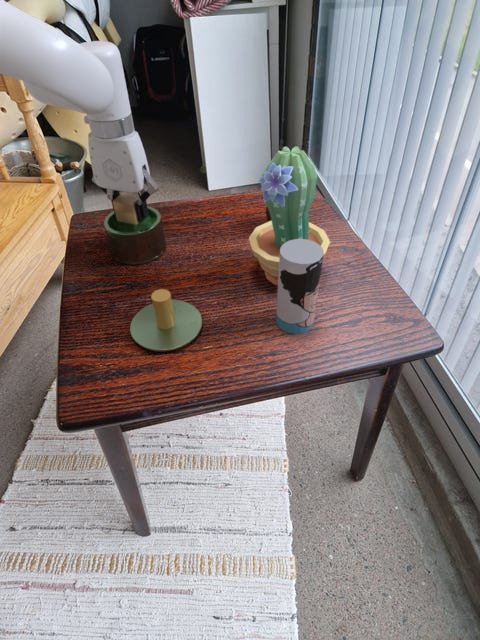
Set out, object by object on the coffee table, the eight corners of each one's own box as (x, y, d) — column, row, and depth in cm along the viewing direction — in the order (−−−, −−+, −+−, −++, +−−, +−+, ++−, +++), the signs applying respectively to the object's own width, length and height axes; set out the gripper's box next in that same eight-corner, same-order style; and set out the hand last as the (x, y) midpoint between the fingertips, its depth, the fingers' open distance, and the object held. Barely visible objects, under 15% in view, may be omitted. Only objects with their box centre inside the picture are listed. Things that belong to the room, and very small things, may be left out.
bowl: (101, 259, 90) (92, 228, 85) (129, 231, 98) (122, 201, 93) (149, 269, 87) (143, 238, 82) (174, 239, 95) (170, 209, 90)
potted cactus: (237, 262, 88) (233, 141, 71) (301, 244, 93) (312, 126, 75) (269, 306, 78) (274, 179, 61) (340, 284, 82) (363, 159, 65)
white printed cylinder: (306, 338, 72) (315, 268, 62) (270, 327, 74) (273, 257, 64) (318, 314, 76) (329, 244, 66) (284, 303, 79) (289, 235, 68)
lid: (117, 343, 72) (107, 311, 67) (152, 298, 81) (145, 266, 75) (184, 362, 69) (178, 329, 64) (213, 312, 77) (210, 280, 72)
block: (117, 221, 86) (112, 201, 83) (128, 210, 89) (124, 190, 86) (136, 224, 85) (132, 204, 82) (147, 214, 88) (143, 194, 85)
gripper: (58, 127, 74) (87, 219, 87) (143, 138, 70) (160, 233, 82) (83, 113, 79) (107, 202, 92) (164, 123, 75) (177, 214, 87)
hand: (132, 216), depth 87 cm, fingers closed on block, 4 cm apart
